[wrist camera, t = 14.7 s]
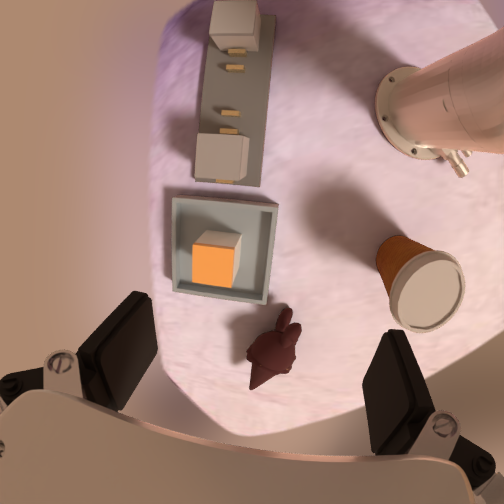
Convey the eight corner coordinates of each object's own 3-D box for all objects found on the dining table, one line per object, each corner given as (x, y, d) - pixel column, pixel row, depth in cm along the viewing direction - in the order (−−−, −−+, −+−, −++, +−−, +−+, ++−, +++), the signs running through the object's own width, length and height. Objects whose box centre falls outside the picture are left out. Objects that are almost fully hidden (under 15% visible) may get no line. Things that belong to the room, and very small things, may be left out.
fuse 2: (249, 138, 32) (242, 135, 26) (246, 175, 34) (238, 180, 28) (211, 136, 32) (197, 133, 27) (209, 172, 34) (194, 177, 28)
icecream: (276, 408, 39) (326, 336, 35) (231, 402, 37) (276, 324, 33) (267, 378, 46) (309, 308, 42) (226, 370, 44) (264, 295, 40)
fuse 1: (261, 21, 26) (256, 0, 21) (258, 51, 28) (252, 33, 22) (224, 21, 27) (214, 1, 21) (220, 50, 28) (208, 33, 23)
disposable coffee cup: (351, 259, 37) (375, 304, 25) (400, 209, 34) (444, 235, 22) (391, 300, 38) (420, 350, 27) (436, 255, 35) (479, 293, 24)
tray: (278, 204, 35) (278, 207, 33) (267, 296, 40) (266, 305, 38) (178, 194, 36) (172, 197, 34) (178, 283, 41) (172, 291, 39)
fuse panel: (276, 18, 27) (275, 10, 24) (260, 186, 35) (258, 188, 32) (214, 17, 27) (209, 9, 25) (197, 180, 35) (191, 183, 33)
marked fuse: (241, 234, 36) (233, 249, 31) (239, 267, 38) (231, 287, 32) (206, 229, 37) (192, 244, 31) (205, 262, 38) (192, 282, 33)
